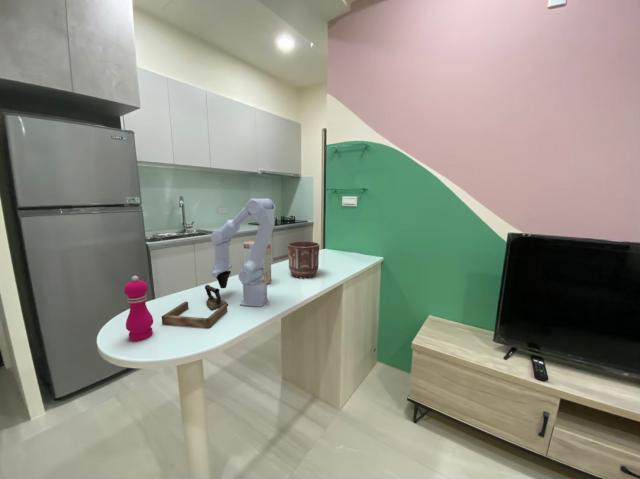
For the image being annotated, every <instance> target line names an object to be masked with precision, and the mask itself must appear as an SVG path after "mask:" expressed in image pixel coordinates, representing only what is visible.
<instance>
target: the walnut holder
mask: <svg viewBox="0 0 640 479" xmlns="http://www.w3.org/2000/svg"><path fill="white" fill-rule="evenodd" d="M188 310H189V301H183V302H182V303H181V304H179V305H177V306H175V308H172V309H171V310H169V311H168V312H167V313H165V314H163V315H162V316H161V324H162V325H163V326H174V327H175V326H177V327H189V328H201V329H210V328H212V326H214V324H215V323H217V322H218V321H219V320H220V319H221V318H222V317H223V316H224V315H225V314H226V313H227V312H228V306H227V304H224V305H222V306H221V307H220V308H219V309H216V310H214V312H213V313H212V314H210V315H209V316H208V317H198V316H197V317H196V316H195V317H194V316H182V314H183V313H185V312H186V311H188Z"/></svg>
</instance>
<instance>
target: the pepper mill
mask: <svg viewBox="0 0 640 479" xmlns="http://www.w3.org/2000/svg"><path fill="white" fill-rule="evenodd" d="M148 288H149V287H148V284H147V283H146V282H145V281H144V280H142V279H139V276H137V275H133V276H131V281H129V282H126V284H125V286H124V289H123V292H124V294H125V295H126V297H127V298H126V299H127V300H126V301H127V303H128V304H129V312H128V316H127V319H126V321H125V328H126V330H127V331H128V339H129V341H131V342H132V341H133V342H138V341H139V342H140V341H144V340H146V339H149V338H150V337H151V336H153V328H152V325H153V324H154V318H153V315H152V313H151V312H150V311H149V309H148V307H147V304H146V300H147V299H148V297H147V294H146V293H147V292H148Z"/></svg>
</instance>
